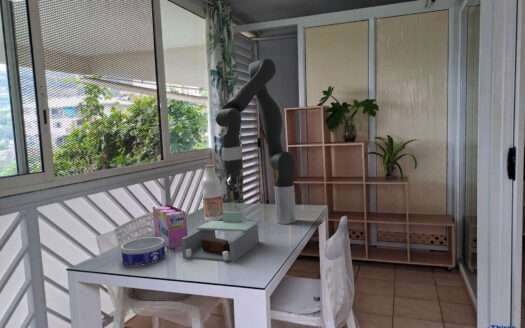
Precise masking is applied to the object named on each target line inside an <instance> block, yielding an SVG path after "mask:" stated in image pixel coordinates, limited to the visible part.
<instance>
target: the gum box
mask: <svg viewBox="0 0 525 328" xmlns="http://www.w3.org/2000/svg"><path fill="white" fill-rule="evenodd" d="M152 214H153V215H152V216H153V225H154V235H155V236H156V237H159V238H162V239H164V244H165V247H167V246H168V249H170V248H171V249H174V248H179V247H182V243H181V238H183V237H185V236H187V235H188V225H187V215H186V211H184V210H182V209H179V208H177V207H176V206H174V205H171V204H169V203H167V204H165V205H164V206H156V207H155V206H152ZM155 236H154V237H155Z"/></svg>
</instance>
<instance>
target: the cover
mask: <svg viewBox="0 0 525 328" xmlns="http://www.w3.org/2000/svg"><path fill="white" fill-rule="evenodd" d="M222 214H223V219H222V220H219V221H206V222H205V223H204V224H202V225H200V226H199V225H198V226H197V227H196V230H199V229H200V230H215V231H223V232H230V231H231V232H244V231H245V232H246V231H248V230H249V229H251V228H252V227H254V226H255V225H256V224H258V222H257V221H243V215H242V214H243V213H242V211H223V212H222Z"/></svg>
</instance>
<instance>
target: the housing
mask: <svg viewBox="0 0 525 328" xmlns="http://www.w3.org/2000/svg"><path fill="white" fill-rule="evenodd" d="M259 234H260V233H259V225H258V223H257V224H256V225H255V226H254V227H252V228H251V229H249V230H248V231H246V232H245V231H241V232H240V233H239V234H238V235H237V236H235V237H233V238H232V239H230V240H229V241H228V243H229V246H230V252H228V251H224V252H223V255H222V254H216V253H211V252H206V251H204V250H203V248H202V239H204V238H207V237H214V238H217V235H216V230H200V229H196V230H195V231H193V232H191V233H189V234H187V236H185V237H183V238H181V243H182V246H181V252H182V253H181V254H182V258H186V259H193V260H194V259H196V260H207V261H208V260H210V261H220V262H236V261H237V260H238V259H239V258H241V257H242V256H244V255H245V254H246V253H247V252H249V250H250V249H252V248H253V247H254V246H256V245H257V244H258V243H259V242H260V238H259V237H260V235H259Z"/></svg>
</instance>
